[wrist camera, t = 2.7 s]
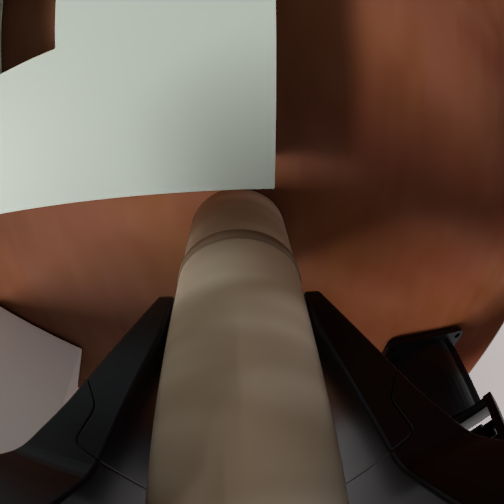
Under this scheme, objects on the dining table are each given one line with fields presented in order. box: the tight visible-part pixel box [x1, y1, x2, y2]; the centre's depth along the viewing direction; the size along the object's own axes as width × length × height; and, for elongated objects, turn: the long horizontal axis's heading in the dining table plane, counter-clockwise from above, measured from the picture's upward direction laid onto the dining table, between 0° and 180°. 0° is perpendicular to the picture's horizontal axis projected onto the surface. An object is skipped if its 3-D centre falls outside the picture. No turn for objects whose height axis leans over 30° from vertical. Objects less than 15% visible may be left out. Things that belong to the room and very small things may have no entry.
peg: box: [145, 189, 349, 504], centre depth 7 cm, size 4×4×10 cm
